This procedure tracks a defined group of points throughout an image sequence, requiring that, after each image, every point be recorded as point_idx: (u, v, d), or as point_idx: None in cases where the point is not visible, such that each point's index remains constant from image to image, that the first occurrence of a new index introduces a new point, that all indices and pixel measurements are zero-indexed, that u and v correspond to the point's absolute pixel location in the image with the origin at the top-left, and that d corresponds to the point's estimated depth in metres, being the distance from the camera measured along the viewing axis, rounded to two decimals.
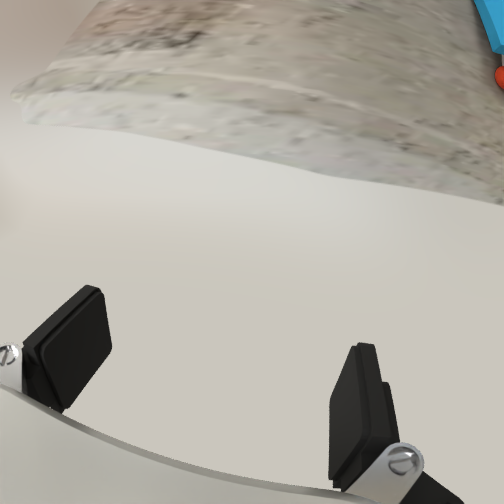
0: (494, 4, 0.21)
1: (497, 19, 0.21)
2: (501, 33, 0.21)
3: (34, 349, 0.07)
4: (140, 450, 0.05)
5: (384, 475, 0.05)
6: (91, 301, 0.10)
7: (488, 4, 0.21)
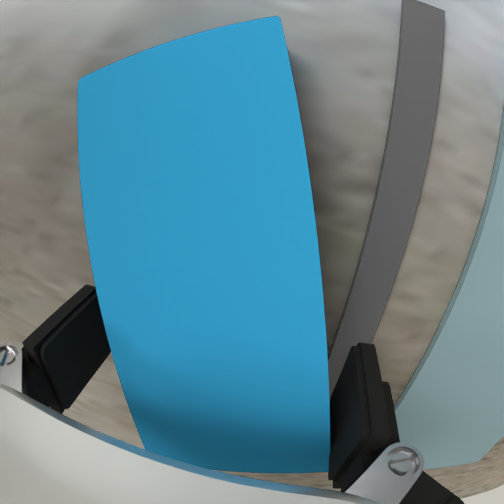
0: (150, 279, 0.09)
1: (142, 373, 0.09)
2: (159, 423, 0.10)
3: (34, 349, 0.07)
4: (140, 450, 0.05)
5: (384, 475, 0.05)
6: (91, 301, 0.10)
7: (112, 307, 0.09)
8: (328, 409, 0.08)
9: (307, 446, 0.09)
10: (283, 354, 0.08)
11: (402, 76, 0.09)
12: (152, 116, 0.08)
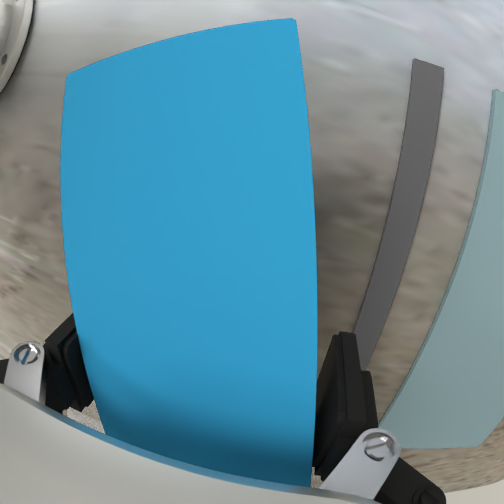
0: (130, 306, 0.08)
1: (118, 398, 0.08)
2: None
3: (57, 347, 0.08)
4: (140, 450, 0.05)
5: (361, 462, 0.06)
6: None
7: (88, 329, 0.08)
8: (311, 454, 0.07)
9: None
10: (268, 398, 0.08)
11: (410, 120, 0.13)
12: (142, 123, 0.07)
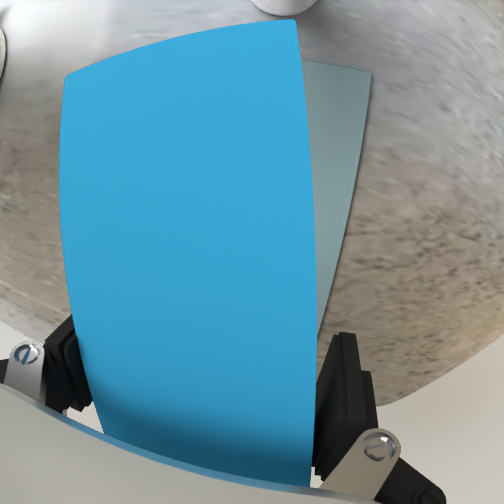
0: (129, 308, 0.08)
1: (117, 401, 0.08)
2: None
3: (57, 347, 0.08)
4: (140, 450, 0.05)
5: (361, 462, 0.06)
6: None
7: (87, 331, 0.08)
8: (310, 456, 0.07)
9: None
10: (267, 401, 0.07)
11: None
12: (141, 125, 0.07)
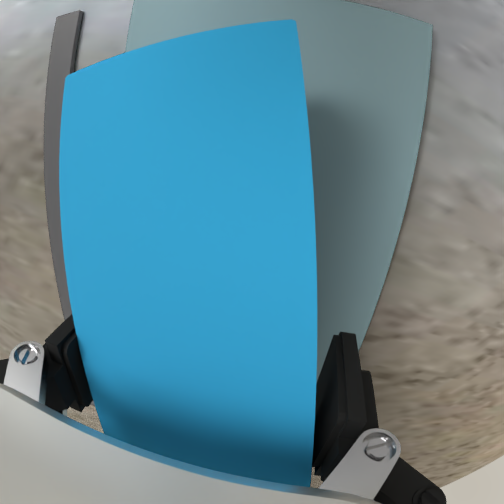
0: (129, 309, 0.08)
1: (117, 401, 0.08)
2: None
3: (57, 347, 0.08)
4: (140, 450, 0.05)
5: (361, 462, 0.06)
6: None
7: (88, 332, 0.08)
8: (311, 457, 0.07)
9: None
10: (268, 401, 0.07)
11: (50, 74, 0.11)
12: (141, 125, 0.07)
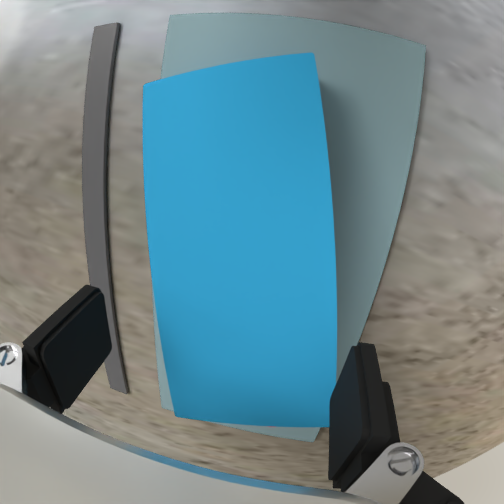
0: (199, 252, 0.12)
1: (182, 331, 0.12)
2: (190, 379, 0.12)
3: (34, 349, 0.07)
4: (140, 450, 0.05)
5: (384, 475, 0.05)
6: (91, 301, 0.10)
7: (163, 273, 0.12)
8: (335, 365, 0.11)
9: (316, 400, 0.11)
10: (302, 315, 0.11)
11: (89, 79, 0.14)
12: (210, 123, 0.11)
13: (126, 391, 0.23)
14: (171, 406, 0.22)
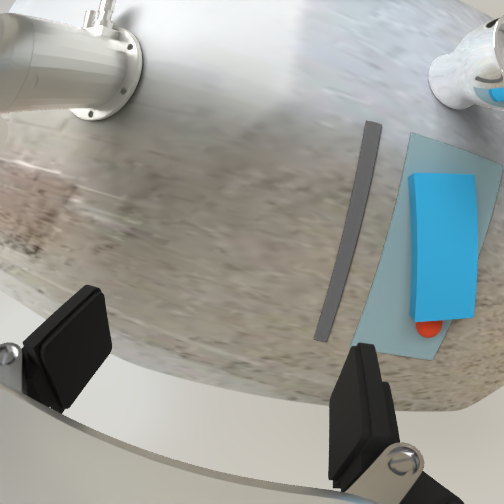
0: (435, 247, 0.27)
1: (426, 278, 0.27)
2: (425, 301, 0.28)
3: (34, 349, 0.07)
4: (140, 450, 0.05)
5: (384, 475, 0.05)
6: (91, 301, 0.10)
7: (422, 255, 0.27)
8: (475, 289, 0.26)
9: (469, 305, 0.26)
10: (467, 270, 0.26)
11: (362, 151, 0.29)
12: (441, 197, 0.26)
13: (326, 340, 0.38)
14: None
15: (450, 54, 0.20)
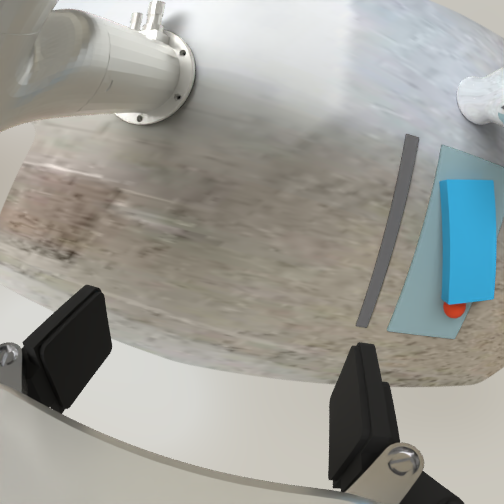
0: (463, 241, 0.31)
1: (457, 268, 0.31)
2: (456, 286, 0.31)
3: (34, 349, 0.07)
4: (140, 450, 0.05)
5: (384, 475, 0.05)
6: (91, 301, 0.10)
7: (453, 248, 0.31)
8: None
9: (490, 288, 0.30)
10: (488, 260, 0.30)
11: (403, 161, 0.33)
12: (468, 199, 0.30)
13: (367, 325, 0.42)
14: (394, 328, 0.41)
15: (478, 80, 0.24)
